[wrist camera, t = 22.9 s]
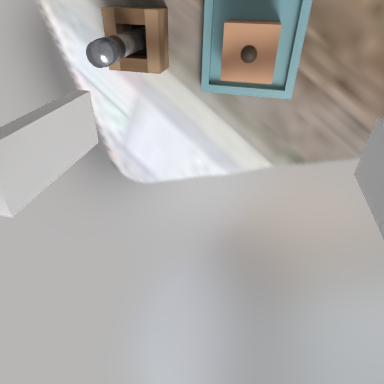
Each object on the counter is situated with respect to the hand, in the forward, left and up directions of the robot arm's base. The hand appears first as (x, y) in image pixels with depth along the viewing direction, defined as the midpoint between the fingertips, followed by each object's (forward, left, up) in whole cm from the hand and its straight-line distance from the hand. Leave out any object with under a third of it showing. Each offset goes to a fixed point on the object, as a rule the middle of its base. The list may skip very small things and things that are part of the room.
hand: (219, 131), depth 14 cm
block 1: (0, -15, -29) cm, 32 cm away
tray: (0, 0, -29) cm, 29 cm away
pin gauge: (0, -15, -29) cm, 32 cm away
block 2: (0, 0, -28) cm, 28 cm away
